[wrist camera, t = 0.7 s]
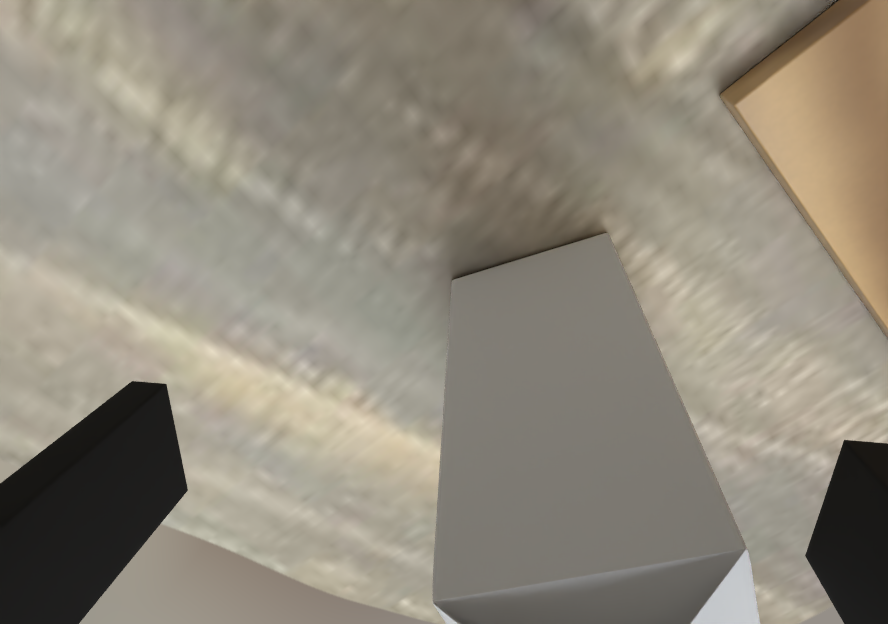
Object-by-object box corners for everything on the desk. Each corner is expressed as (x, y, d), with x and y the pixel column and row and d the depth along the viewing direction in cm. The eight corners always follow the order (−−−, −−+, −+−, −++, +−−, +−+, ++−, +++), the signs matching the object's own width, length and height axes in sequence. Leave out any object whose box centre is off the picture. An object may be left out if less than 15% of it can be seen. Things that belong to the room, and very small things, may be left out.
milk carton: (607, 228, 24) (858, 795, 8) (638, 354, 28) (855, 914, 12) (450, 276, 26) (412, 826, 10) (499, 389, 29) (527, 922, 14)
